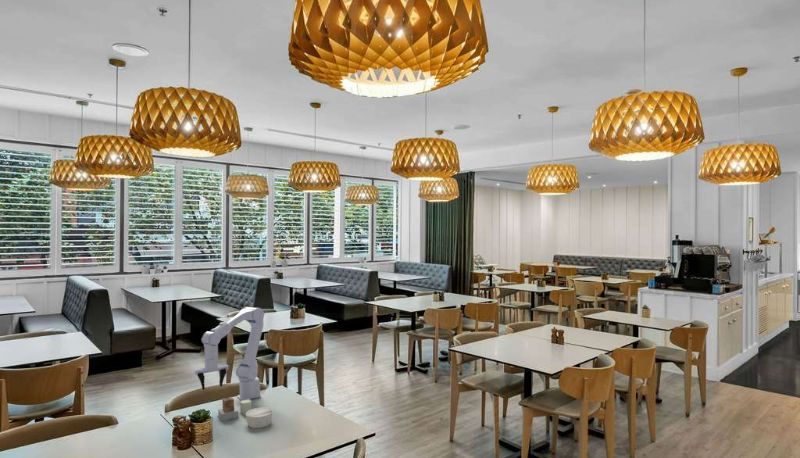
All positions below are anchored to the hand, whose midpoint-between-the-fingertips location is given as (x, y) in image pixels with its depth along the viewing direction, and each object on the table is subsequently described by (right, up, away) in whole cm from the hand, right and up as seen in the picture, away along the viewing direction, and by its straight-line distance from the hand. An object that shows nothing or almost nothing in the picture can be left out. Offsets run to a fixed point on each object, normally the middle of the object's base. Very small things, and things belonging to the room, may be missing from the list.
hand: (212, 387), depth 227 cm
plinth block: (+11, -10, -9) cm, 17 cm away
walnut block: (+11, -7, -9) cm, 16 cm away
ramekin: (+27, -10, -18) cm, 34 cm away
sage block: (+17, -10, -4) cm, 20 cm away
